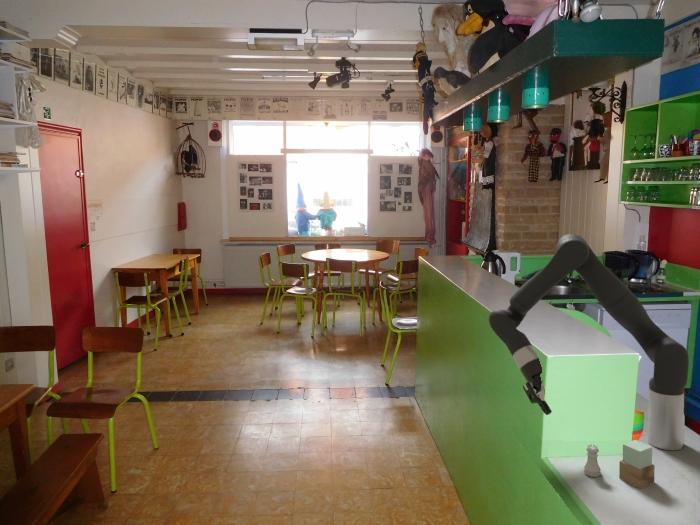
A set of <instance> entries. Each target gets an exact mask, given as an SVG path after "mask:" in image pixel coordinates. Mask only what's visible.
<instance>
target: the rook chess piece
mask: <svg viewBox="0 0 700 525" xmlns="http://www.w3.org/2000/svg"><path fill="white" fill-rule="evenodd" d="M585 450H586V451H587V453H586V456H587V460H586V462H585V464H584V466H583V472H584V474H585V475H586V476H588V477H591V478H597V477H600V476H601V475H602V472H601V471H602V470H601V467H600V465H599V462H598V456H599V455H598V452H600V450H599V449H598V446H597V445H595V444H593V445H592V444H587V447H586V449H585Z"/></svg>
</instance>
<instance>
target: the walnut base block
mask: <svg viewBox="0 0 700 525" xmlns="http://www.w3.org/2000/svg"><path fill="white" fill-rule="evenodd" d="M655 469H656V466H655V464H654V463H652V465H650V466H647V467H645V468H642V469H638V468H636V467H633V466H631V465H629V464H627V463H625V462H623V459H622V460H620V461H619V469H618V470H619V472H618V473H619V475H618V476H619V479H620V480H622V481H624V482H626V483H628V484H630V485H632V486H634V485H635V486H634V487H636V488H638V489H642V488H644V487H646V486H649V485H650V484H653V483H655Z"/></svg>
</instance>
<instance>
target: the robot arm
mask: <svg viewBox="0 0 700 525" xmlns="http://www.w3.org/2000/svg"><path fill="white" fill-rule="evenodd" d="M574 271H575V272H576V273H577V274H578V275H579V276H580V277H581V278H582V280H584V282H585V284H586V285H587V287H588V288H589V290H590V292H591V294H592V295H593V296H594V298H595V299H596V301H597V302H598V303H599V305H601V307H602V308H603V309H604V310H605V311H606V313H608V314H609V315H610V317H612V319H613V320H614V321H615V322H616V323H618V324H619V326H621V327H622V328H623V329H625V331H627V332H628V333H629V334H631V336H632V337H633V338H634V339H635V341H636V342H637V343H638V344H639V346H640V347H641V348H642V350H643V351H644V353H645V354H646V356H647V357H648V359H649V360H650V361H651V362H652V363H654V364H653V376H652V377H651V378H650V379H649V381H648V383H649V384H648V418H647V419H648V424H647V425H648V428H647V429H648V430H647V441H648V443H649V444H650V446H652V447H655V448H658V449H661V450H665V451H666V450H667V451H677V450H678V451H679V450H681V449H682V448H684V447H683V445H684V444H685V416H686V415H685V414H684V411H685V409H684V408H685V387H686V386H687V384H688V380H689V378H688V376H689V366H690V365H689V364H690V362H689V358H690V357H689V352H688V350H687V349H686V347H685V346H684V345H682V343H680V342H678V341H676V340H675V339H674V338H672V337H671V336H669V335H668V334H666V332H664V331H663V329H661V328H660V327H659V326H658V325H657V324H656V323H655V322H654V321H653V320H652V319H651V317H650V316H649V314H648V312H647V310H646V308H645V307H644V305H643V304H642V303H641V300H639V298H638V297H637V296H636V295H635V294H634V293H633V292H632V290H631V289H630V288H629V287H628V286H627V285H626V284H625V283H624V282H623V281H622V280H621V279H620V278H618V276H616V274H614V273H613V272H612V271H611V270H610V269H609V268H608V267H607V266H606V265H605V264H604V263H603V262H602V261H601V260H600V259H599V258H598V256H597V255H596V254H595V253H594V251H593V250H592V249H591V247H590V246H589V244H588V243H587V241H586V240H585V238H584V237H582V236H580V235H578V234H573V233H568V234H564V235H563V236H561V237H560V238H559V239H558V241H557V243H556V246H555V253H554V254H553V256H552V258H551V259H550V260H549V261H548V263H547V264H546V265H545V266H544V267H543V268H542V269H541V270H540V271H538V273H536V274H535V275H533V276H532V277H531V278H529V279H528V280H527V281H526V282H524V283H523V284H522V285H521V286H520V287H519V289H518V290H516V292H515V293H514V294H512V295H511V297H510V298H509V306H508V307H507V308H506V309H499V308H497V309H494V310H492V311H491V312H490V314H489V315H488V322H489V325H490V326H489V327H490V328H491V330H492V331H493V333H494V334H495V335H496V336H497V337H498V338H499V339H500V340H501V342H503V344H505V346H506V347H507V349H508V351H509V353H510V355H511V356H512V357H513V360H514V362H515V364H516V365H517V367H518V369H519V371H520V372H521V375H523V377H524V380H526V382H525V383H524V384H523V385H522V388H523V391H524V392H525V395H526V396H527V397H528V400H529V402H530V403H531V404H537V405H538V406H539V408H540V409H541V411H542V412H543V413H544V414H545V415H546V416H548V415H551V414H552V413H553V412H552V409H551V408H550V406H549V404H548V403H547V401H546V400H545V395H546V394H545V389H544V384H543V380H542V381H541V377H540V374H541V373H542V367H541V364H540V361H539V358H538V356H537V353H536V351H537V349H535V347H534V346H533V345H532V343H531V341H530V340H529V338H528V337H527V336H526V334H525V333H524V332H522V331H520V330H519V329H518V327H519V326H520V325H521V323H522V322H523V321H524V318H525V317H526V316H527V314H528V312H529V311H530V310H531V309H532V308H534V307H535V306H536V305H537V304H538V303H539V302H540V301H541V299H542V298H543V297H545V295H547V293H548V292H549V291H550V290H551V289H553V287H555V286H556V285H557V284H558V283H559V282H560V281H562V280H563V279H565V278H566V277H567V276H568V275H570V274H571V273H573V272H574Z"/></svg>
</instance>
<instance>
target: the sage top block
mask: <svg viewBox="0 0 700 525" xmlns="http://www.w3.org/2000/svg"><path fill="white" fill-rule="evenodd" d="M622 460H623V462H625V463H627V464H629V465H631V466H633V467H636V468H638V469H642V468H645V467H647V466H650V465H652V464H653V446H652V445H649V444H646V443H643V441H642V442H641V441H640V440H636V439H633V440H631V441H628V442H625V443H623V444H622Z"/></svg>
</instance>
